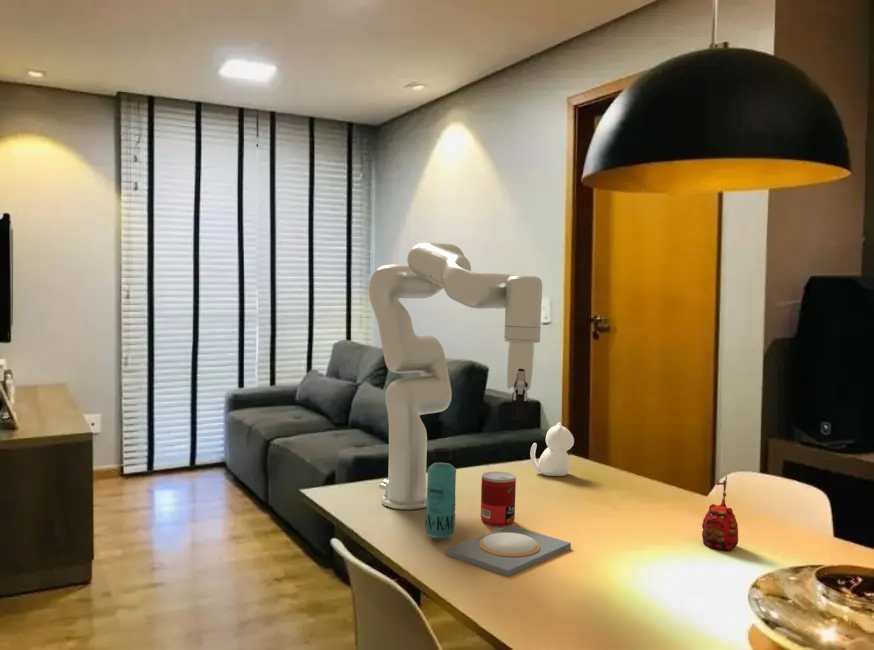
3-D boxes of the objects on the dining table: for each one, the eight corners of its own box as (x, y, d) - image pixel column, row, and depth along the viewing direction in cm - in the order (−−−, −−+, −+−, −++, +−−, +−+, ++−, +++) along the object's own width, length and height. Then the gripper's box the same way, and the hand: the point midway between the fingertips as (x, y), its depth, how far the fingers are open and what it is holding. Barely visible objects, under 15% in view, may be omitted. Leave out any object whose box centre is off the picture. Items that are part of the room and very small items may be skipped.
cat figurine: (573, 479, 221) (575, 427, 220) (529, 477, 222) (531, 425, 221) (571, 471, 230) (573, 421, 229) (529, 469, 231) (531, 419, 230)
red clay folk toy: (696, 545, 168) (699, 477, 167) (709, 537, 173) (712, 472, 172) (731, 554, 163) (735, 484, 162) (743, 546, 168) (746, 478, 167)
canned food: (512, 528, 177) (514, 480, 176) (478, 525, 178) (479, 478, 178) (516, 518, 184) (517, 472, 184) (482, 515, 186) (484, 470, 185)
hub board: (445, 554, 159) (445, 544, 159) (510, 530, 175) (510, 520, 175) (507, 576, 148) (508, 565, 148) (570, 548, 164) (571, 538, 164)
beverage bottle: (427, 533, 172) (429, 444, 170) (456, 535, 171) (459, 446, 169) (422, 543, 165) (424, 451, 164) (453, 545, 164) (455, 453, 163)
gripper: (505, 330, 171) (502, 407, 173) (503, 337, 154) (500, 422, 155) (539, 332, 171) (536, 408, 172) (541, 338, 153) (538, 424, 155)
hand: (519, 415), depth 164 cm, fingers open, 9 cm apart
